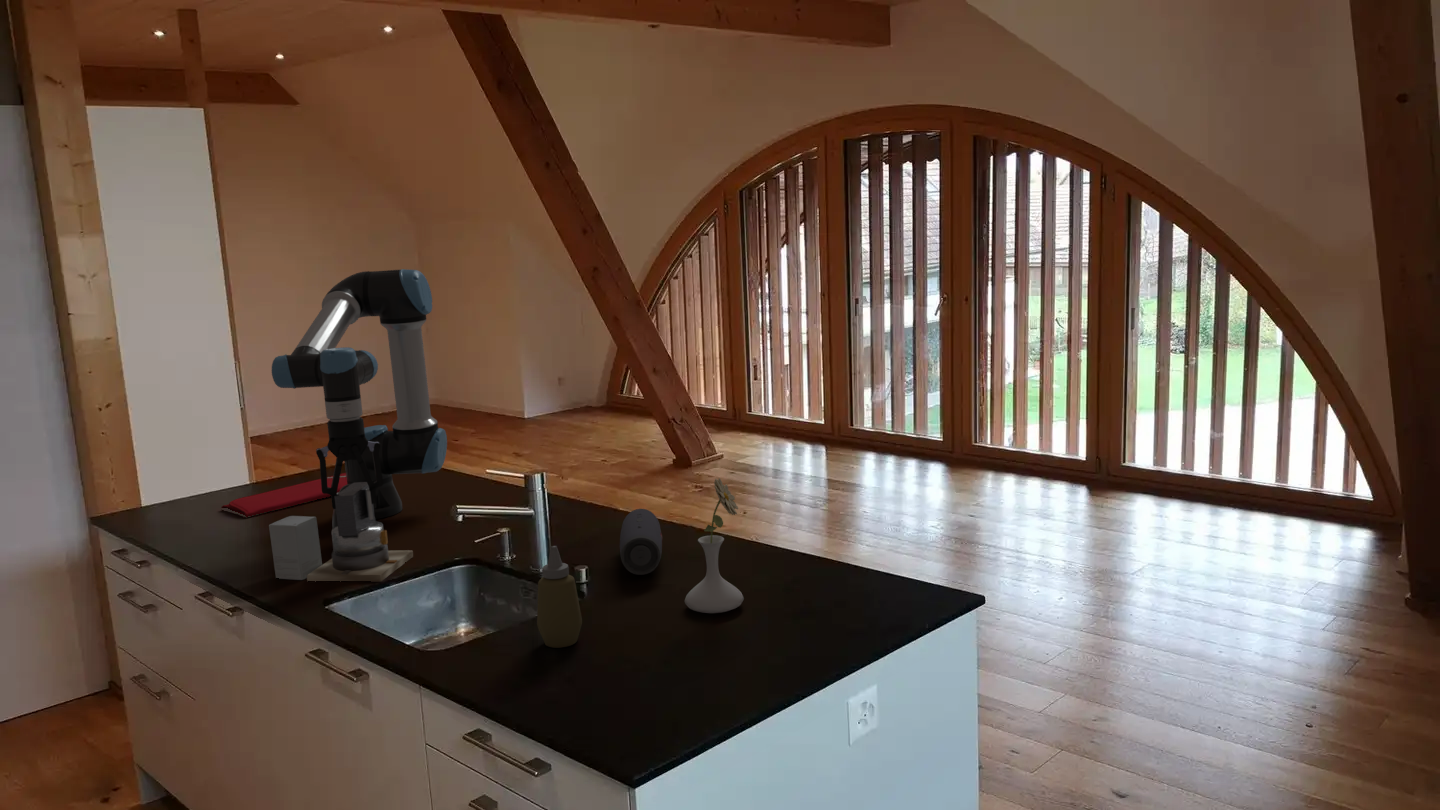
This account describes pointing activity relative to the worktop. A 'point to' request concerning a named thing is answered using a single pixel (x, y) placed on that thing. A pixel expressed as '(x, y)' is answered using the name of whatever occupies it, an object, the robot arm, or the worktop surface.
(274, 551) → the supplement box
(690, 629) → the worktop surface
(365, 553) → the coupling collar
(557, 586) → the squeeze bottle
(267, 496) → the dish drying mat
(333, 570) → the post board
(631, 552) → the bluetooth speaker
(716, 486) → the flower in vase
